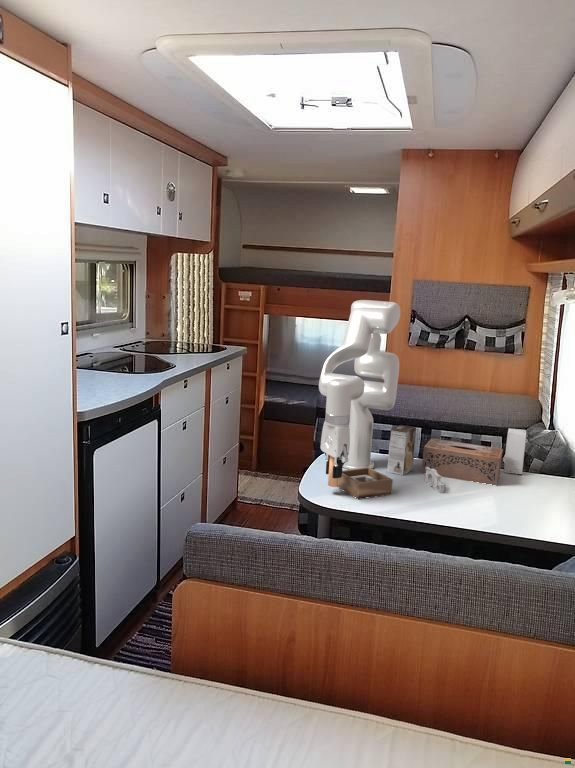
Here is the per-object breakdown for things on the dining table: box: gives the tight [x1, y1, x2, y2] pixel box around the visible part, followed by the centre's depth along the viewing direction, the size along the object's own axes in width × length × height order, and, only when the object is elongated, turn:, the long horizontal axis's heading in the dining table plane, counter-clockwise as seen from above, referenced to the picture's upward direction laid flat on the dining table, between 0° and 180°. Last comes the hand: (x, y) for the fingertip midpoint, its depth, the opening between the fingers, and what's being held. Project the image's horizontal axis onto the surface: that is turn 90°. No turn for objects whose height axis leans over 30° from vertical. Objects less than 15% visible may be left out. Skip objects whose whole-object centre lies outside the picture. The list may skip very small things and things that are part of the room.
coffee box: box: [387, 424, 417, 476], centre depth 220 cm, size 9×6×16 cm
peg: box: [327, 456, 340, 488], centre depth 192 cm, size 3×3×12 cm
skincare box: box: [503, 428, 527, 475], centre depth 228 cm, size 8×7×16 cm
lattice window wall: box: [424, 467, 445, 494], centre depth 205 cm, size 12×2×6 cm, turn 13°
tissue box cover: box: [421, 437, 504, 486], centre depth 221 cm, size 26×14×10 cm, turn 67°
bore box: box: [337, 467, 394, 500], centre depth 198 cm, size 13×13×5 cm
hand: (333, 475), depth 192 cm, fingers closed on peg, 3 cm apart
